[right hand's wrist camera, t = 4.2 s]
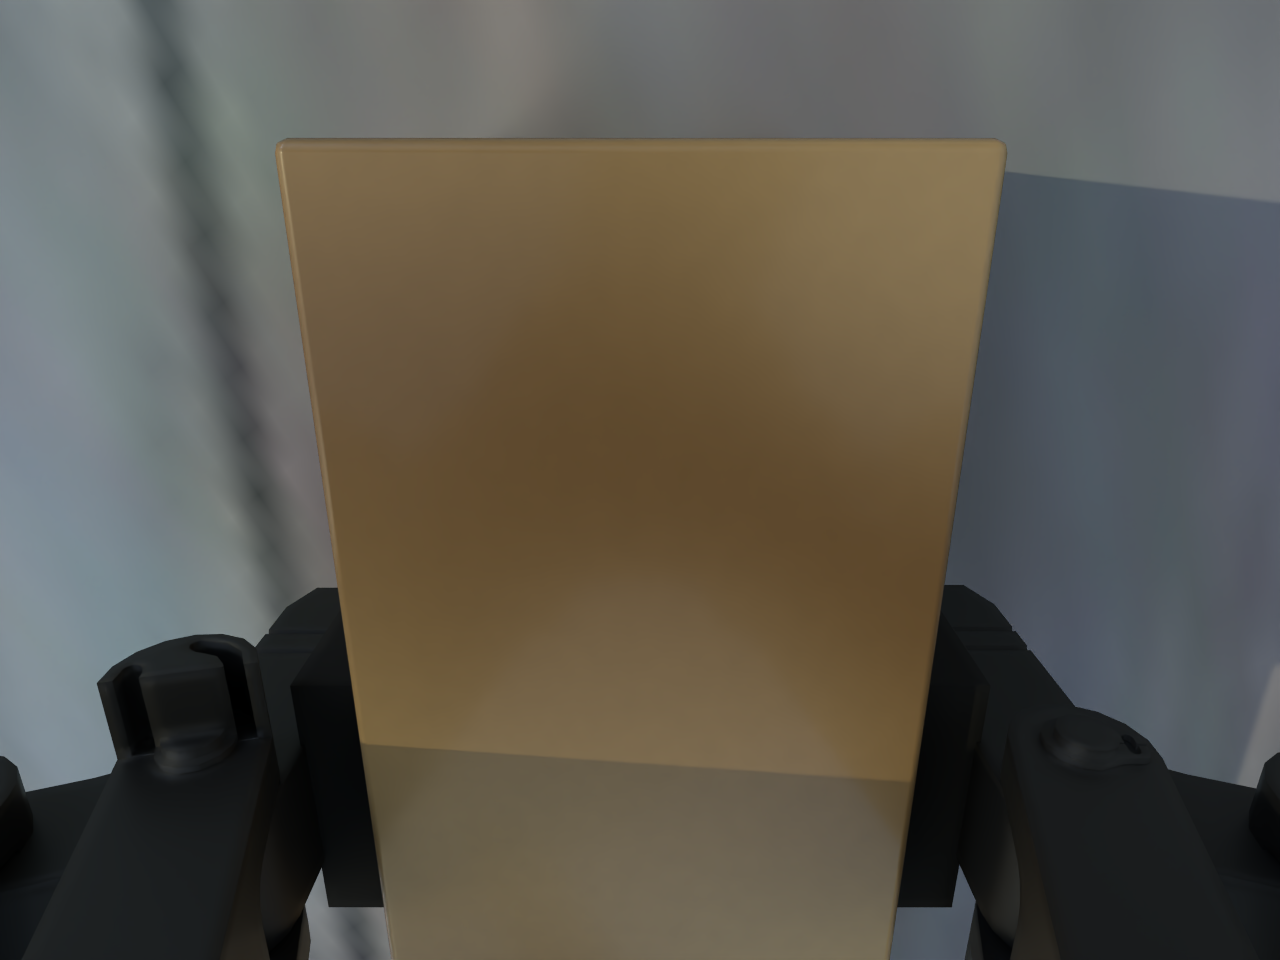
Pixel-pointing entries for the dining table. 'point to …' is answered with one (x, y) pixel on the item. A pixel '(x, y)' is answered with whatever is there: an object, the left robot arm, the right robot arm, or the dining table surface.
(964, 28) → the dining table surface
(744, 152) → the bar
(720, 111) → the dining table surface
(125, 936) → the right robot arm
